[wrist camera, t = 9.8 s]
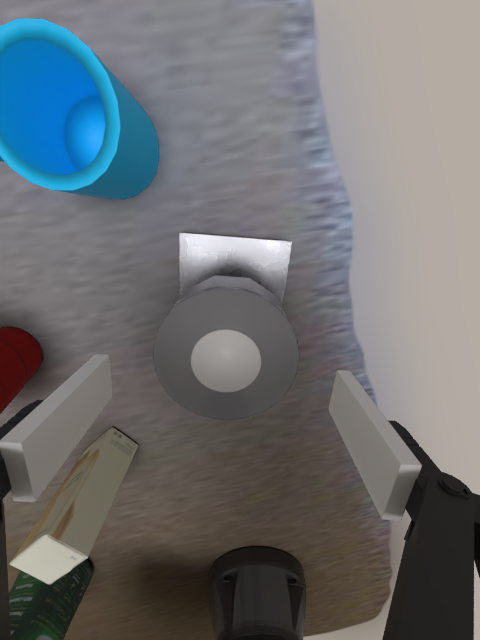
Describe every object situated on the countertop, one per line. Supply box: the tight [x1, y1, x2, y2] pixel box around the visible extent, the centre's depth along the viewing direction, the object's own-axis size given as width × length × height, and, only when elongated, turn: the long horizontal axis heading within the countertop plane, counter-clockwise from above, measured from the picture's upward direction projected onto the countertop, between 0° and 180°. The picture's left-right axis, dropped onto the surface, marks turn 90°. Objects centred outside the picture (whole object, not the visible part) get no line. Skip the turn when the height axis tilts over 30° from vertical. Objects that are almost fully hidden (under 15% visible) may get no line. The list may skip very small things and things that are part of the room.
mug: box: [0, 19, 159, 199], centre depth 19 cm, size 12×8×8 cm
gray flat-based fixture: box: [180, 232, 292, 307], centre depth 23 cm, size 14×10×10 cm
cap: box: [153, 275, 299, 420], centre depth 19 cm, size 9×9×4 cm
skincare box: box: [10, 427, 138, 584], centre depth 29 cm, size 6×4×12 cm
